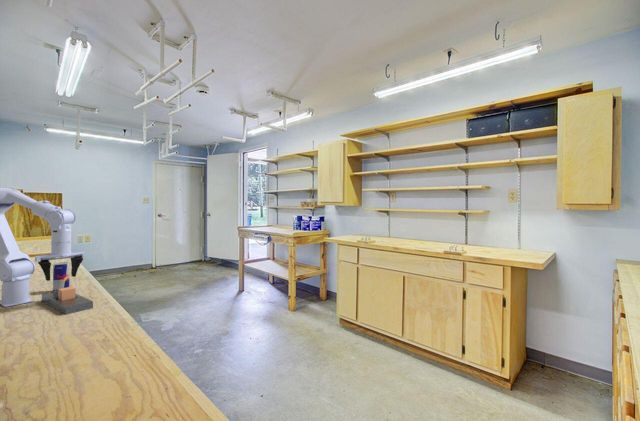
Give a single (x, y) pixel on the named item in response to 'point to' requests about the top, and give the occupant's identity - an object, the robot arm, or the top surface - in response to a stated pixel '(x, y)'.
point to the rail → (67, 303)
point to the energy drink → (60, 276)
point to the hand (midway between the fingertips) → (61, 278)
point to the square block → (66, 293)
